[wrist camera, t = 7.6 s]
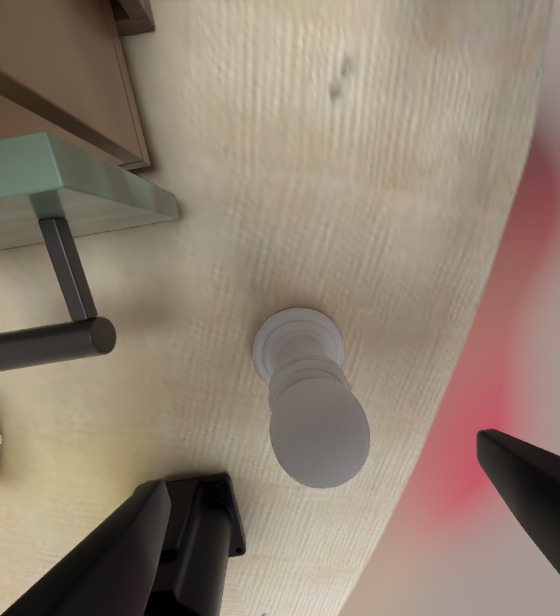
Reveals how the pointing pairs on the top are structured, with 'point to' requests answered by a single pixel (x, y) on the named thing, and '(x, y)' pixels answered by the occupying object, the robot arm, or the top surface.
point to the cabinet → (132, 16)
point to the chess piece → (310, 399)
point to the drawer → (68, 159)
